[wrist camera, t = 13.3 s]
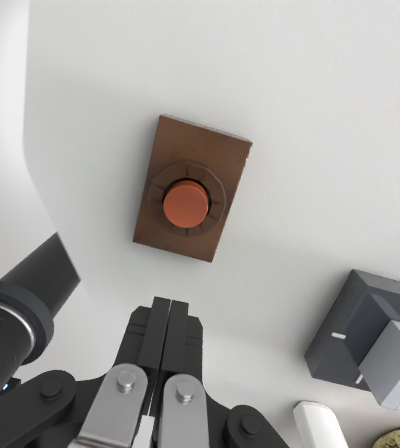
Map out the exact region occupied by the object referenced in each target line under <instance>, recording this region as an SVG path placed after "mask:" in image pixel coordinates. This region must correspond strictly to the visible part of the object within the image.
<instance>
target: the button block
mask: <svg viewBox="0 0 400 448" xmlns="http://www.w3.org/2000/svg"><path fill="white" fill-rule="evenodd" d="M251 146H252V142H251V141H250V140H248V139H245V138H242V137H238V136H235V135H232V134H228V133H225V132H222V131H218V130H215V129H212V128H208V127H205V126H202V125H198V124H195V123H192V122H188V121H185V120H182V119H179V118H175V117H172V116H169V115H165V114H163V115H160V117H159V122H158V127H157V131H156V136H155V141H154V145H153V150H152V154H151V159H150V164H149V168H148V173H147V177H146V182H145V187H144V191H143V196H142V200H141V205H140V210H139V214H138V219H137V223H136V228H135V233H134V237H133V242H135V243H139V244H143V245H147V246H150V247H154V248H158V249H162V250H165V251H169V252H173V253H177V254H180V255H184V256H188V257H192V258H196V259H199V260H203V261H207V262H212V260H213V257H214V254H215V251H216V248H217V245H218V243H219V240H220V237H221V234H222V231H223V228H224V225H225V222H226V219H227V216H228V213H229V211H230V208H231V205H232V202H233V199H234V196H235V193H236V190H237V187H238V184H239V181H240V178H241V176H242V173H243V170H244V167H245V164H246V161H247V158H248V155H249V152H250V149H251ZM184 180H189V181H194V182H196V183H198V184H199V185H201V186H202V187H203V188H204V190H205V191H206V193H207V196H208V211H207V215H206V217H205V218H204V220H203V221H202V222H201V223H199V224H198V225H196V226H194V227H189V228H183V227H179V226H176V225H174V224H173V223H172V222H170V221H169V220H168V218H167V217H166V215H165V213H164V208H163V204H164V199H165V197H166V195H167V193H168V191H169V189H170V188H171V187H172V186H173V185H174V184H175V183H177V182H180V181H184Z"/></svg>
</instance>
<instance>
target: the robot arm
mask: <svg viewBox="0 0 400 448" xmlns="http://www.w3.org/2000/svg"><path fill="white" fill-rule="evenodd" d="M170 302H171V300H170V299H165V298H161V297H156V296H155V297H154V301H153V304H152V308H148V307H143V306H139V307H138V308H137V309H136V310H135V311H134V312H132V314H131V317H130V320H129V323H128V325H127V328H126V332H125V334H124V337H123V340H122V343H121V345H120V348H119V351H118V354H117V357H116V360H115V363H114V365H113V366H112V368H111V369H110V370H109V371H108V372H107V373H106V374H104V375H103V376H101V377H98V378H96V379H91V380H84V381H75V379H74V377H73V376H72V375H71V374H69V373H68V372H66V371H62V370H52V371H47V372H44V373H42V374H40V375H38V376H36V377H34V378H33V379H31V380H29V381H27V382H25V383H24V384H21V379H17V378H12V376H13V375H14V373H15V372H16V370H17V369H18V368H19V366H20V365H21V364H22V362H23V361H24V359H25V358H26V357H27V356H28V355H29V354H30V353H31V351H32V350H33V348H34V346H35V343H36V333H35V330H34V328H33V325H32V324H31V322H30V321H29V320H28V318H27V317H26V316H25V315H24V314H23V313H21V312H20V311H19V310H17V309H16V308H14V307H12V306H10V305H8V304H6V303H3V302H0V448H132V446H133V443H134V439H135V437H136V435H137V433H138V430H139V427H140V423H141V418H142V415H146V416H147V413H148V410H149V406H150V402H151V407H150V412H149V416H153V417H155V420H154V426H153V431H152V435H151V439H150V446H149V448H289V446H288V445H287V444H286V443H285V442H284V440H283V439H282V438H281V437H280V436H279V434H278V433H277V432H276V431H275V429H274V428H273V427H272V426H271V425H270V423H269V422H268V421H267V420H266V419H265V417H264V416H263V415H262V414H261V413H260V412H259V411H258V410H256V409H255V408H253V407H251V406H247V405H238V406H235V407H234V408H232V409H231V410H230V409H228V408H226V407H225V406H223V405H221V404H219V403H217V402H216V401H214V400H213V399H212V398H211V397H210V396H209V395H208V394H207V392H206V391H205V389H204V386H203V383H202V344H203V339H202V338H203V327H202V325H201V323H200V320H199V318H198V317H193V316H188V306H189V303H185V302H180V301H176V300H172V303H171V307H170ZM169 308H170V311H169ZM168 314H169V315H168ZM152 394H153V396H152ZM151 398H152V401H151Z"/></svg>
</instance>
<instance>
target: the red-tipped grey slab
mask: <svg viewBox="0 0 400 448" xmlns="http://www.w3.org/2000/svg"><path fill="white" fill-rule="evenodd" d="M358 369H359V370H360V372H361V374H362V376H363V378H364V379H365V381H366V383H367V385H368V386H369V388H370V390H371V392H372V394H373V395H374V397H375V399H376V401H377V403H378V404H379V406H382V407H386V408H390V409H394V410H396V409H397V408H398V407H399V405H400V322H398V321H395V320H390V322H389V323H388V324H387V326H386V327H385V329H384V330H383V332H382V333H381V335H380V336H379V338H378V339H377V341H376V342H375V343H374V345H373V346H372V348H371V349H370V351H369V352H368V354H367V355H366V357H365V358H364V360H363V361H362V362H361V364H360V365H359V367H358Z"/></svg>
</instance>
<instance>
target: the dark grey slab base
mask: <svg viewBox="0 0 400 448" xmlns="http://www.w3.org/2000/svg"><path fill="white" fill-rule="evenodd" d="M390 320H395V321H398V322H400V282H399V281H395V280H392V279H388V278H384V277H381V276H377V275H373V274H370V273H366V272H362V271H359V270H355V269H353V271H352V273H351V274H350V276H349V278H348V280H347V282H346V283H345V285H344V287H343V289H342V290H341V292H340V294H339V296H338V298H337V299H336V301H335V303H334V305H333V306H332V308H331V310H330V312H329V314H328V315H327V317H326V319H325V321H324V322H323V324H322V326H321V328H320V330H319V331H318V333H317V335H316V337H315V338H314V340H313V342H312V344H311V346H310V347H309V349H308V351H307V353H306V354H305V356H304V358H305V360H306V363H307V366H308V368H309V371H310V374H311V376H312V378H316V379H320V380H324V381H328V382H332V383H337V384H341V385H345V386H349V387H353V388H357V389H361V390H366V391H370V392H371V390H370V388H369V386H368V385H367V383H366V381H365V379H364V378H363V376H362V374H361V372H360V370H359V369H358V367H359V365H360V364H361V362H362V361H363V360H364V358H365V357H366V355H367V354H368V352H369V351H370V349H371V348H372V346H373V345H374V343H375V342H376V341H377V339H378V338H379V336H380V335H381V333H382V332H383V330H384V329H385V327H386V326H387V324H388V323H389V322H390Z"/></svg>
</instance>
